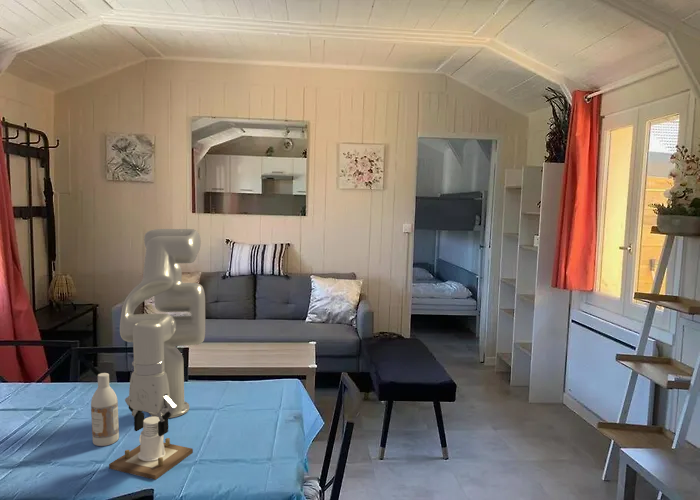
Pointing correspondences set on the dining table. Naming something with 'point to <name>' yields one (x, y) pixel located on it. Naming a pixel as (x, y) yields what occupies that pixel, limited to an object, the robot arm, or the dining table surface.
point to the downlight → (151, 441)
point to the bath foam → (104, 413)
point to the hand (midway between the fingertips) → (151, 431)
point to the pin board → (151, 468)
